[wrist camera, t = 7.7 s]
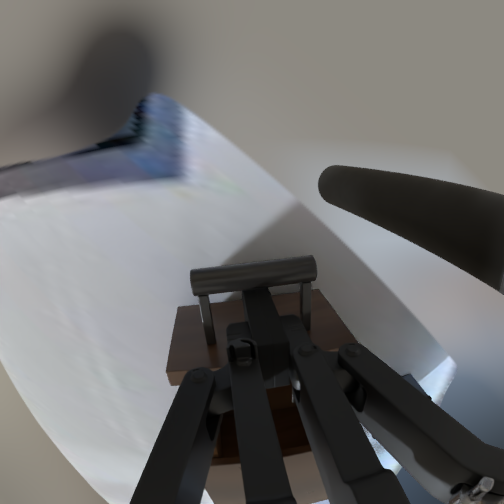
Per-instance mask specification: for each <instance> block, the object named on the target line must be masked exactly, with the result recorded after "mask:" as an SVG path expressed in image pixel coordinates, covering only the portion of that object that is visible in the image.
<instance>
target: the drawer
mask: <svg viewBox="0 0 504 504" xmlns="http://www.w3.org/2000/svg"><path fill="white" fill-rule="evenodd" d="M316 278H317V265H316V261H315V259H314V257H313V256H312V255H309V256H301V257H293V258H285V259H276V260H268V261H260V262H251V263H243V264H235V265H226V266H217V267H209V268H200V269H192V270H191V271H190V281H191V288H192V293H193V295H194V296H198V301H199V305H191V306H181V307H178V309H177V314H176V319H175V324H174V329H173V334H172V340H171V345H170V350H169V356H168V362H167V367H166V374H167V377H168V380H169V383H170V385H171V386H179V385H180V384H181V382H182V380H183V378H184V375H185V374H186V373H187V372H188V371H189V370H191V369H193V368H196V367H205V368H209V369H210V370H212V371H216V370H218V369H221V368H222V367H224V366H225V365H226V364H227V362H228V356H227V350H226V347H227V333H226V328H227V327H228V325H229V323H236V322H244V321H245V318H244V309H243V300H235V301H227V302H218V303H210V300H209V294H217V293H226V292H234V291H242V290H250V289H258V288H266V287H273V286H281V285H288V284H295V283H299V287H300V292H295V293H288V294H281V295H274V296H271V297H272V299H273V302H274V304H275V306H276V309H277V311H278V314H279V316H282V315H289V314H295V315H296V316H298V317H299V318H300V319H301V321H302V323H303V325H304V327H305V329H306V331H307V333H308V335H309V337H310V339H311V341H312V343H314V344H316V345H318V346H319V347H320V348H321V350H324V351H338V349H339V348H340V346H342V345H343V344H345V343H358V341H357V340H356V339H355V337H354V336H353V335H352V333H351V332H350V331H349V329H348V328H347V326H346V325H345V324H344V322H343V321H342V320H341V318H340V317H339V316H338V314H337V313H336V312H335V310H334V309H333V308H332V306H331V305H330V304H329V302H328V301H327V300H326V298H325V297H324V296H323V294H322V293H321V292H320V290H319V289H315V290H311V281H315V280H316ZM266 392H267V397H268V401H269V405H270V409H271V413H272V417H273V421H274V425H275V429H276V433H277V437H278V441H279V445H280V449H281V450H284V449H289V448H294V447H299V446H304V445H308V444H309V441H308V438H307V435H306V432H305V429H304V426H303V423H302V420H301V417H300V414H299V411H298V408H297V405H296V402H295V399H294V402H293V403H292V382H291V380H290V385H287V386H281V387H275V388H269V389H266ZM236 456H239V449H238V441H237V433H236V425H235V417H234V409H233V410H230V411H228V412H225V413H223V418H222V422H221V426H220V430H219V434H218V438H217V442H216V445H215V449H214V453H213V457H212V458H225V457H236Z"/></svg>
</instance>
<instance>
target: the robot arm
mask: <svg viewBox="0 0 504 504" xmlns="http://www.w3.org/2000/svg"><path fill="white" fill-rule="evenodd" d="M242 299H243V309H244V318H245V321H244V322H236V323H229V325H228V327H227V328H226V333H227V347H226V350H227V356H228V362H227V364H226V365H225V366H224V367H222V368H221V369H218V370H216V371H212V370H210V369H209V368H205V367H196V368H193V369H191V370H189V371H188V372H187V373H186V374H185V375H184V378H183V380H182V382H181V384H180V387H179V389H178V391H177V394H176V396H175V398H174V400H173V403H172V405H171V407H170V410H169V412H168V414H167V417H166V419H165V421H164V424H163V426H162V428H161V430H160V433H159V435H158V437H157V440H156V442H155V444H154V447H153V449H152V452H151V454H150V456H149V459H148V461H147V463H146V466H145V468H144V470H143V473H142V475H141V477H140V480H139V482H138V485H137V487H136V489H135V492H134V494H133V497H132V499H131V501H130V504H200V503H201V500H202V496H203V492H204V488H205V484H206V480H207V477H208V473H209V469H210V465H211V461H212V457H213V453H214V449H215V445H216V442H217V438H218V434H219V430H220V426H221V422H222V418H223V413H225V412H228V411H230V410H233V409H234V417H235V425H236V433H237V441H238V449H239V457H240V464H241V472H242V479H243V486H244V492H245V499H246V504H297V502H296V499H295V498H294V496H293V494H292V491H291V487H290V483H289V479H288V476H287V472H286V468H285V464H284V460H283V456H282V452H281V449H280V445H279V441H278V437H277V433H276V429H275V425H274V421H273V417H272V413H271V409H270V405H269V401H268V397H267V392H266V389H269V388H275V387H281V386H287V385H290V380H291V382H292V403H293V402H294V399H295V402H296V405H297V408H298V411H299V414H300V417H301V420H302V423H303V426H304V429H305V432H306V435H307V438H308V441H309V444H310V447H311V450H312V452H313V455H314V458H315V461H316V464H317V467H318V470H319V473H320V476H321V479H322V482H323V485H324V488H325V491H326V494H327V496H328V499H329V502H330V504H410V502H409V500H408V498H407V496H406V494H405V492H404V490H403V488H402V486H401V485H400V483H399V481H398V479H397V477H396V475H395V474H394V472H393V471H391V470H390V469H385V468H383V466H382V465H381V463H380V461H379V459H378V457H377V455H376V453H375V451H374V449H373V447H372V445H371V443H370V442H369V440H368V438H367V436H366V434H365V432H364V430H363V428H362V426H361V424H362V425H363V426H364V427H365V428H366V429H367V430H368V431H369V432H370V433H371V434H372V436H373V437H374V438H375V439H376V440H377V441H378V442H379V443H380V444H381V445H382V446H383V447H384V448H385V449H386V450H387V451H388V452H389V453H390V454H391V455H392V456H393V457H394V458H395V459H396V461H397V462H398V463H399V464H400V465H401V466H402V467H403V468H405V470H407V472H408V473H409V474H410V475H411V476H412V477H413V478H414V479H415V480H416V481H417V482H418V483H419V484H421V486H422V487H423V488H424V489H425V490H427V491H428V492H429V493H430V494H431V495H432V496H434V497H435V498H437V499H438V500H440V501H441V502H443V503H445V504H504V450H503V449H500V448H497V447H494V446H491V445H488V444H485V443H484V442H482V441H481V440H480V439H479V438H477V437H476V436H475V435H474V434H472V433H471V432H470V431H469V430H467V429H466V428H465V427H464V426H462V425H461V424H460V423H459V422H457V421H456V420H455V419H454V418H452V417H451V416H450V415H449V414H447V413H446V412H445V411H444V410H442V409H441V408H440V407H439V406H437V405H436V404H435V403H434V402H433V401H431V400H430V399H429V398H428V397H426V396H425V395H424V394H423V393H421V392H420V391H419V390H418V389H416V388H415V387H414V386H413V385H411V384H410V383H409V382H408V381H406V380H405V379H404V378H403V377H401V376H400V375H399V374H398V373H397V372H395V371H394V370H393V369H392V368H390V367H389V366H388V365H387V364H385V363H384V362H383V361H382V360H380V359H379V358H378V357H377V356H375V355H374V354H373V353H372V352H370V351H369V350H368V349H367V348H366V347H364V346H363V345H361V344H359V343H345V344H343V345H342V346H340V348H339V349H338V351H324V350H321V348H320V347H319V346H318V345H316V344H314V343H312V341H311V339H310V337H309V335H308V333H307V331H306V329H305V327H304V325H303V323H302V321H301V319H300V318H299V317H298V316H296V315H295V314H289V315H282V316H279V314H278V311H277V309H276V306H275V304H274V302H273V299H272V297H271V294H270V292H269V289H268V287H266V288H258V289H250V290H242ZM360 423H361V424H360Z"/></svg>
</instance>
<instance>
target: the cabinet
mask: <svg viewBox="0 0 504 504" xmlns="http://www.w3.org/2000/svg"><path fill="white" fill-rule="evenodd" d="M281 452H282V456H283V460H284V464H285V468H286V472H287V476H288V479H289V483H290V487H291V491H292V494H293V496H294V498H295V499H296V502H297V504H311V503H315V502H319V501H323V500H327V499H328V496H327V494H326V491H325V488H324V485H323V482H322V479H321V476H320V473H319V470H318V467H317V464H316V461H315V458H314V455H313V452H312V450H311V447H310V444H308V445H304V446H299V447H294V448H289V449H284V450H281ZM205 490H206V491H207V493H208V495H209V496H210V498H211V500H212V501H213V503H214V504H246V499H245V492H244V486H243V479H242V472H241V464H240V457H239V456H236V457H225V458H212V461H211V465H210V469H209V473H208V477H207V480H206V484H205Z"/></svg>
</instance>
